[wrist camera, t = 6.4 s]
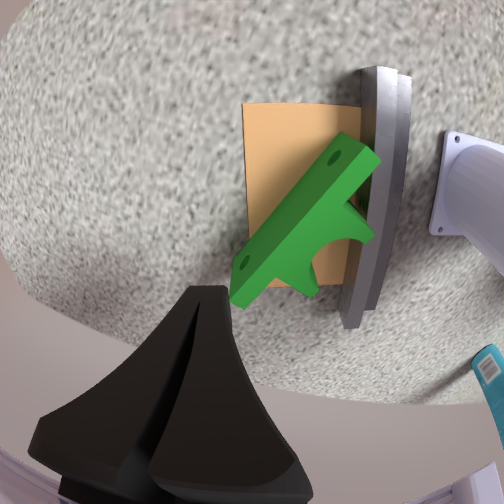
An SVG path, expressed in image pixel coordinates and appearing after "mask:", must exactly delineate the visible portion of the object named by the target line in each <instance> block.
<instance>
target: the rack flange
mask: <svg viewBox="0 0 504 504" xmlns="http://www.w3.org/2000/svg"><path fill="white" fill-rule="evenodd" d="M410 113H411V77H409V76H404V75H400V74H397V70H396V69H391V68H386V67H381V66H373V67H367V68H362V69H361V107H353V106H342V105H329V104H310V103H250V104H243V120H244V141H245V161H246V182H247V202H248V222H249V240H250V238H251V237H252V236H253V235H254V234H255V232H256V231H257V230H258V229H259V228H260V226H261V225H262V224H263V223H264V222H265V220H266V219H267V218H268V217H269V216H270V214H271V213H272V212H273V211H274V209H275V208H276V207H277V206H278V205H279V203H280V202H281V201H282V200H283V199H284V197H285V196H286V195H287V194H288V193H289V192H290V190H291V189H292V188H293V187H294V186H295V184H296V183H297V182H298V181H299V180H300V178H301V177H302V176H303V175H304V174H305V172H306V171H307V170H308V169H309V168H310V166H311V165H312V164H313V163H314V162H315V161H316V159H317V158H318V157H319V156H320V155H321V153H322V152H323V151H324V150H325V149H326V148H327V146H328V145H329V144H330V143H331V142H332V140H333V139H334V138H335V137H336V136H337V135H338V133H339V132H342V133H344V134H346V135H348V136H350V137H352V138H354V139H355V140H357V141H359V142H361V143H363V144H365V145H366V146H368V147H369V148H370V149H371V150H372V151H373V152H374V153H375V154H376V155H377V156H378V157H379V158H380V159H381V160H382V162H381V163H380V164H379V165H378V166H377V167H376V168H375V170H374V171H373V172H372V173H371V174H370V175H369V176H368V178H367V179H366V180H365V181H364V182H363V183H362V184H361V186H360V187H359V188H358V189H357V190H356V191H355V192H354V193H353V195H352V196H351V197H350V198H349V199H348V200H349V201H351V202H352V204H353V205H354V206H355V207H356V209H357V210H358V211H359V213H360V214H361V215H362V217H363V218H364V219H365V221H366V222H367V224H368V225H369V226H370V228H371V229H372V230H373V232H374V233H375V236H374V237H373V238H372V239H371V240H370V241H369V242H368V243H367V244H365V243H363V242H361V241H359V240H356V239H350V238H345V239H339V240H335V241H332V242H330V243H328V244H326V245H325V246H324V247H322V248H321V249H320V250H319V251H318V252H317V253H316V254H315V256H314V257H313V259H312V264H313V268H314V272H315V275H316V279H317V282H318V285H337V284H342V289H341V294H340V299H339V304H338V310H339V313H340V316H341V320H342V323H343V327H344V329H354V328H359V326H360V322H361V319H362V316H363V312H364V311H366V310H375V308H376V304H377V301H378V298H379V294H380V291H381V287H382V284H383V280H384V276H385V272H386V269H387V265H388V261H389V256H390V252H391V248H392V243H393V239H394V234H395V229H396V225H397V219H398V214H399V209H400V203H401V197H402V191H403V184H404V177H405V169H406V161H407V152H408V141H409V129H410ZM287 286H290V285H288V284H286V283H285V282H283V281H281V280H280V279H278V278H275V279H274V280H273V281H272V282H271V283H270V284H269V285H268V286H267V287H287Z"/></svg>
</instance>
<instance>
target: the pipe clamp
mask: <svg viewBox="0 0 504 504" xmlns="http://www.w3.org/2000/svg"><path fill="white" fill-rule="evenodd" d="M381 162H382V160H381V159H380V158H379V157H378V156H377V155H376V154H375V153H374V152H373V151H372V150H371V149H370V148H369V147H368V146H366V145H365V144H363V143H361V142H359V141H357V140H355V139H354V138H352V137H350V136H348V135H346V134H344V133H342V132H339V133H338V135H337V136H336V137H335V138H334V139H333V140H332V142H331V143H330V144H329V145H328V146H327V148H326V149H325V150H324V151H323V152H322V153H321V155H320V156H319V157H318V158H317V159H316V161H315V162H314V163H313V164H312V165H311V166H310V168H309V169H308V170H307V171H306V172H305V174H304V175H303V176H302V177H301V178H300V180H299V181H298V182H297V183H296V184H295V186H294V187H293V188H292V189H291V190H290V192H289V193H288V194H287V195H286V196H285V197H284V199H283V200H282V201H281V202H280V203H279V205H278V206H277V207H276V208H275V209H274V211H273V212H272V213H271V214H270V216H269V217H268V218H267V219H266V220H265V222H264V223H263V224H262V225H261V226H260V228H259V229H258V230H257V231H256V232H255V234H254V235H253V236H252V237H251V238H250V240H249V241H248V242H247V243H246V244H245V246H244V247H243V248H242V249H241V251H240V252H239V253H238V254H237V255H236V257H235V258H234V260H233V267H232V275H231V283H230V292H229V302H231V303H233V304H235V305H236V306H238V307H240V308H242V309H245V308H246V307H247V306H248V305H249V304H250V303H251V302H252V301H253V300H254V299H255V298H256V297H257V296H258V295H259V294H260V293H261V292H262V291H263V290H264V289H265V288H266V287H267V286H268V285H269V284H270V283H271V282H272V281H273V280H274V279H275V278H278V279H280V280H281V281H283V282H285V283H286V284H288V285H290V286H291V287H293V288H295V289H296V290H298V291H300V292H301V293H303V294H305V295H306V296H308V297H310V298H312V297H313V296H314V295H315V294H316V293H317V292H318V291H319V286H318V282H317V279H316V275H315V272H314V268H313V264H312V259H313V257H314V256H315V254H316V253H317V252H318V251H319V250H320V249H321V248H322V247H324V246H325V245H326V244H328V243H330V242H332V241H335V240H339V239H345V238H350V239H356V240H359V241H361V242H363V243H365V244H367V243H368V242H369V241H370V240H371V239H372V238H373V237H374V236H375V233H374V232H373V230H372V229H371V228H370V226H369V225H368V224H367V222H366V221H365V219H364V218H363V217H362V215H361V214H360V213H359V211H358V210H357V209H356V207H355V206H354V205H353V204H352V202H351V201H349V200H348V199H349V198H350V197H351V196H352V195H353V193H354V192H355V191H356V190H357V189H358V188H359V187H360V186H361V184H362V183H363V182H364V181H365V180H366V179H367V178H368V176H369V175H370V174H371V173H372V172H373V171H374V170H375V168H376V167H377V166H378V165H379V164H380V163H381Z"/></svg>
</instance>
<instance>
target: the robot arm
mask: <svg viewBox="0 0 504 504" xmlns="http://www.w3.org/2000/svg"><path fill="white" fill-rule="evenodd" d="M456 136H457V140H456V141H455V137H456ZM440 227H441V228H440ZM439 228H440V229H439ZM438 229H439V230H438ZM428 230H429V232H430V233H431V234H432V235H464V236H465V237H466V238H467V239H468V240H469V241H470V242H471V243H472V244H473V245H474V246H475V247H476V248H477V249H478V250H479V251H480V252H481V253H482V254H483V255H484V256H485V257H486V258H487V259H488V260H489V261H490V262H491V264H492V265H493V266H494V267H495V268H496V269H497V270H498V271H499V272H500V273H501V275H502V276H503V277H504V145H501V144H498V143H494V142H491V141H488V140H485V139H481V138H478V137H474V136H471V135H467V134H463V133H459V132H455V131H451V130H448V131H446V133H445V136H444V144H443V153H442V160H441V167H440V174H439V180H438V186H437V191H436V196H435V201H434V206H433V211H432V215H431V220H430V224H429V229H428ZM28 454H29V455H30V456H31V457H32V458H33V459H35V460H36V461H38V462H40V463H41V464H43V465H45V466H47V467H48V468H50V469H51V470H53V471H55V472H57V473H58V474H60V475H62V478H61V482H58V481H56V480H54V479H52V478H50V477H48V476H46V475H44V474H42V473H40V472H39V471H37V470H35V469H33V468H32V467H30V466H28V465H26V464H25V463H23V462H21V461H20V460H18V459H17V458H15V457H13V456H12V455H10V454H9V453H8V452H6V451H5V450H3V449H1V448H0V504H69V503H70V504H307V502H308V501H310V499H312V498H313V491H312V486H311V484H310V481H309V479H308V477H307V475H306V473H305V471H304V469H303V467H302V465H301V463H300V461H299V459H298V457H297V455H296V454H295V452H294V451H293V450H292V448H291V447H290V446H289V444H288V443H287V441H286V440H285V439H284V437H283V436H282V434H281V433H280V431H278V429H277V427H276V425H275V424H274V422H273V421H272V419H271V418H270V416H269V414H268V413H267V411H266V409H265V407H264V405H263V404H262V402H261V400H260V398H259V397H258V395H257V393H256V391H255V389H254V387H253V385H252V383H251V381H250V379H249V377H248V374H247V372H246V370H245V367H244V365H243V363H242V360H241V358H240V355H239V352H238V349H237V346H236V343H235V340H234V337H233V334H232V319H231V311H230V303H229V295H228V288H227V287H226V286H224V285H215V286H189V287H188V288H187V289H186V290H185V292H184V293H183V294H182V296H181V297H180V298H179V300H178V301H177V302H176V304H175V305H174V306H173V307H172V309H171V310H170V311H169V313H168V314H167V315H166V316H165V317H164V319H163V320H162V321H161V322H160V324H159V325H158V326H157V327H156V328H155V330H154V331H153V332H152V333H151V334H150V335H149V336H148V337H147V338H146V340H145V341H144V342H143V343H142V344H141V345H140V346H139V347H138V348H137V349H136V350H135V351H134V352H133V353H132V354H131V355H130V356H129V357H128V358H127V359H126V360H125V361H124V362H123V363H122V364H121V365H120V366H118V367H117V368H116V369H115V370H114V371H113V372H111V373H110V374H109V375H108V376H106V377H105V378H104V379H103V380H101V381H100V382H99V383H98V384H96V385H95V386H94V387H92V388H91V389H89V390H88V391H86V392H85V393H83V394H82V395H80V396H79V397H77V398H76V399H74V400H73V401H71V402H69V403H68V404H66V405H64V406H62V407H60V408H58V409H57V410H55V411H53V412H51V413H49V414H47V415H45V416H43V417H41V418H40V419H39V421H38V424H37V427H36V429H35V432H34V434H33V437H32V440H31V443H30V445H29V448H28ZM403 504H504V498H503V493H502V489H501V484H500V480H499V476H498V472H497V468H496V465H495V462H494V461H493V462H490V463H489V464H487V465H485V466H484V467H482V468H480V469H478V470H477V471H475V472H473V473H471V474H469V475H467V476H465V477H463V478H461V479H459V480H458V481H456V482H454V483H452V484H451V485H448V486H446V487H444V488H442V489H439V490H437V491H435V492H432V493H430V494H428V495H425V496H423V497H421V498H418V499H415V500H412V501H410V502H406V503H403Z"/></svg>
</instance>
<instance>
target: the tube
mask: <svg viewBox="0 0 504 504" xmlns="http://www.w3.org/2000/svg"><path fill="white" fill-rule="evenodd" d="M471 366H472V368H473V370H474V372H475V375H476V377H477V379H478V381H479V383H480V385H481V388H482V390H483V392H484V395H485V397H486V400H487V402H488V404H489V406H490V410H491V412H492V414H493V417H494V420H495V423H496V426H497V429H498V432H499V435H500V438H501V442H502V445H503V449H504V358H503V356H502V355H501V353H500V352H499V350H498V348H497V347H496V345H494V344H491V345H489V346H487V347H485V348H484V349H483V350H482V351H481V352H479V353H478V354H477V355H476V356H475V358H474V359H473V361H472V363H471Z"/></svg>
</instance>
